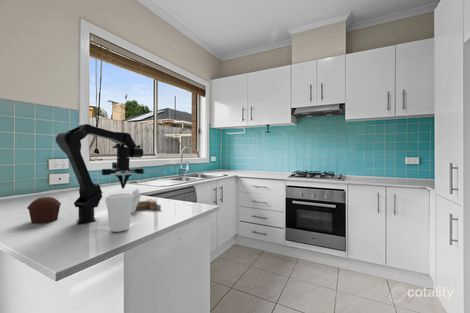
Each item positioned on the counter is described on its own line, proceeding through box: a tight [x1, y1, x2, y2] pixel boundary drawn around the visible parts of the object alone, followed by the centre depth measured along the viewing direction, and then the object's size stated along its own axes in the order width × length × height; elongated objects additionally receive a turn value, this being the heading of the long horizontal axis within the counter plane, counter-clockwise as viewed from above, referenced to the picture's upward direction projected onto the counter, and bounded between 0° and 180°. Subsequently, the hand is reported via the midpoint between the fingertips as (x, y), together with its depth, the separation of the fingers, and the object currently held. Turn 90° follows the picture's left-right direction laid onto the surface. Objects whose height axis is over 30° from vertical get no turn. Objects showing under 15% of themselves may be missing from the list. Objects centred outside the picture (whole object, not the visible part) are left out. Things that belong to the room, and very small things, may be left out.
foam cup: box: [105, 192, 133, 233], centre depth 86 cm, size 10×9×13 cm
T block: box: [135, 198, 157, 211], centre depth 118 cm, size 9×9×4 cm
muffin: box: [26, 196, 62, 225], centre depth 97 cm, size 12×11×10 cm
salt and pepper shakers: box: [130, 188, 142, 214], centre depth 115 cm, size 12×4×11 cm, turn 37°
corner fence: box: [155, 202, 162, 212], centre depth 118 cm, size 16×11×3 cm
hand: (123, 188), depth 113 cm, fingers closed
